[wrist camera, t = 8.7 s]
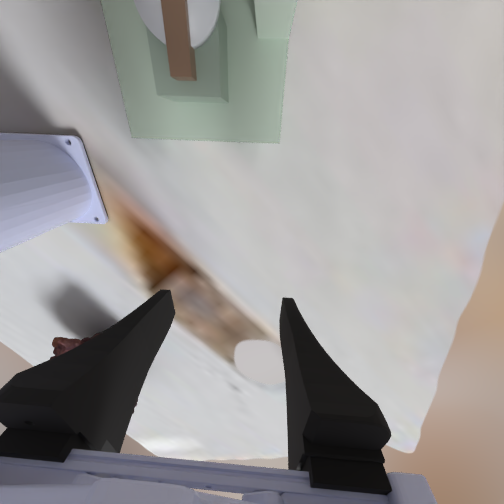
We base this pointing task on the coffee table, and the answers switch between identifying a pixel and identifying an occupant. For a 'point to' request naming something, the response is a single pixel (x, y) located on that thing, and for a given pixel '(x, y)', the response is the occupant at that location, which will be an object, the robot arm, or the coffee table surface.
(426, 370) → the coffee table surface
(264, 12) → the mint green baseplate
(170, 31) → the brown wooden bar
